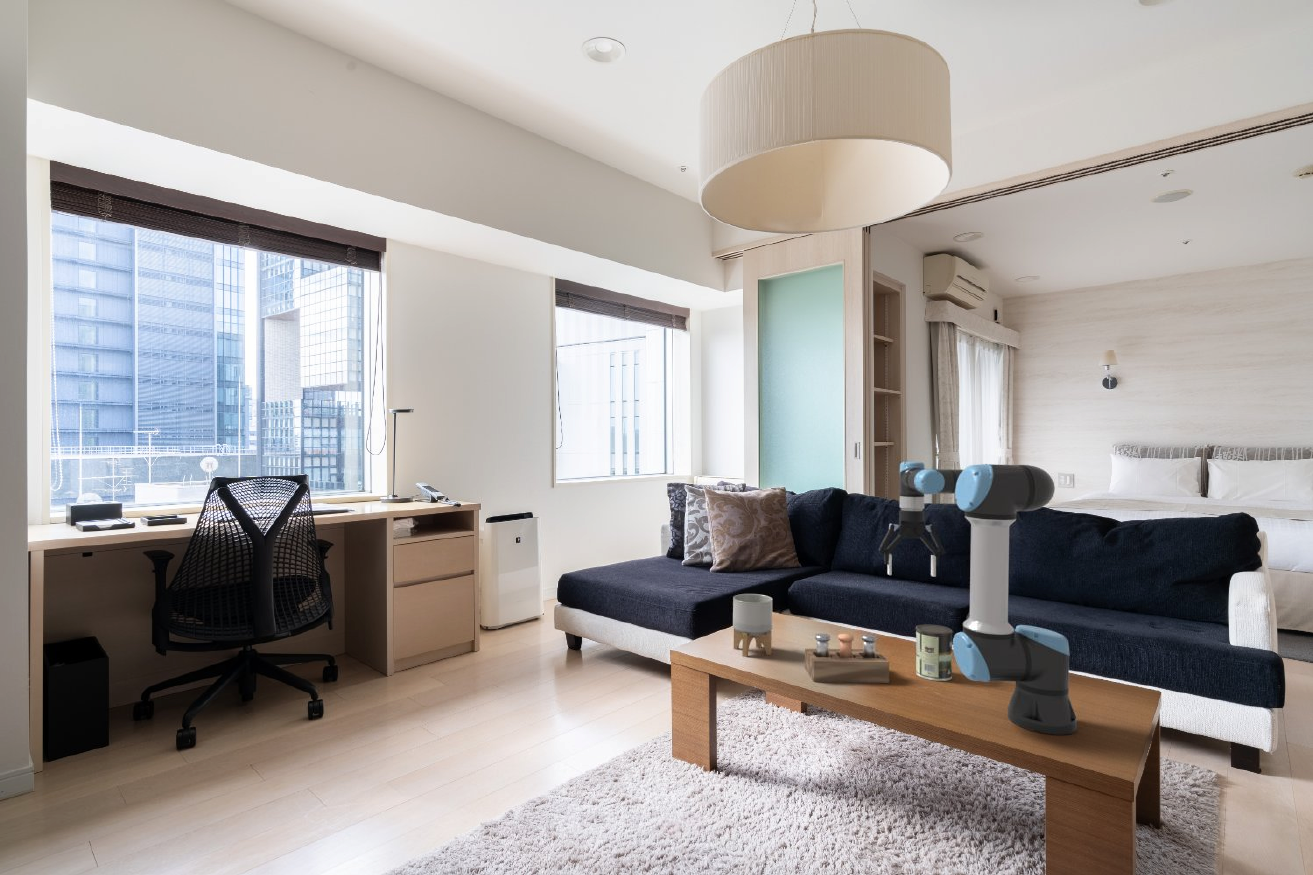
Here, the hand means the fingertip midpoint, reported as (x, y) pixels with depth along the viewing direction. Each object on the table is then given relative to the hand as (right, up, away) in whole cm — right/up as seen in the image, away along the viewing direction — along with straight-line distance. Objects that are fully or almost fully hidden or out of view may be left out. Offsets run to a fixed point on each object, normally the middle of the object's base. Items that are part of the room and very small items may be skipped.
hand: (911, 575), depth 217 cm
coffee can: (+1, -28, -14) cm, 31 cm away
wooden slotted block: (-26, -27, -15) cm, 40 cm away
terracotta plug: (-25, -22, -15) cm, 37 cm away
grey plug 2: (-18, -22, -15) cm, 33 cm away
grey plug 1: (-32, -22, -15) cm, 42 cm away
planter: (-50, -27, +7) cm, 58 cm away
